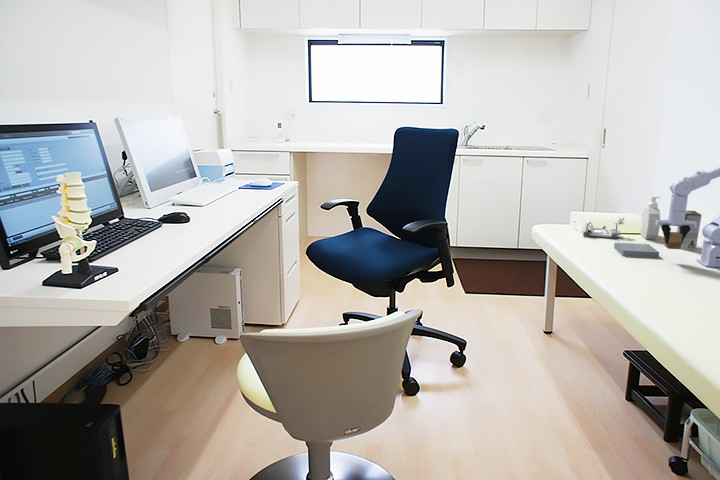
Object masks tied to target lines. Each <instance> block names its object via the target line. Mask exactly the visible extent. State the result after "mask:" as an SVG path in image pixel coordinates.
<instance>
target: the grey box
mask: <svg viewBox="0 0 720 480" xmlns="http://www.w3.org/2000/svg"><path fill="white" fill-rule="evenodd" d="M613 249H615V250H616V251H617V252H618V254H620V255H621V257H629V256H631V258H651V259H659V255H660V252H659V251H658V250H657V249H656V248H655V247H653V246H651V245H650V244H649V243H631V242H629V243H628V242H614V246H613Z"/></svg>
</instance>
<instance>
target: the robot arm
mask: <svg viewBox="0 0 720 480" xmlns="http://www.w3.org/2000/svg"><path fill="white" fill-rule="evenodd" d="M694 172H695V173H694V174H692V175H689V176H684V177H682V179H677V180H675V181H673V182H672V183H671V185H670V187H669V189H670V191H671V198H670V204H669V210H668V211H669V213H668V219H660V220H656V224H655V225H657V226H660V229H661V231H662V234H663V239H664V244H665V243H666V244H668V242H669V235H670V232H672V231H671V230H672V228H671V226H673V227H678V226H679V233H681V234H682V235H683V236H682V242H683V240H684V238H685V236H686V235H687V233H688V232H689V231H690V227H696V225H697V222H695V221H685V214H686V211H687V206H688V197H689V195H690V194H691V193H692V192H694V191H695V190H699V189H700V188H704V187H705V186H708V185H709V184H710V183H711V181H712V180H715V179H717V178H720V166H717V167H715V168H713V169H711V170H709V171H705V170H701V171H700V170H697V171H694ZM701 231H702V235H703V237H704V238H703V242H702V246H701V247H702V250H701V255H700V258H699V259H698V258H697V259H696V261H697V262H698V263H700V264H702V265H703V266H704V267H709V268H711V267H713V268H714V267H715V268H720V214H719V215H718V216H717V217H716V218H713V219H712V220H711V221H710V222H709V223H708V224H705V225H704V227H703V228H702V230H701ZM681 244H682V243H681Z"/></svg>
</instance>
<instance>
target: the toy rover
mask: <svg viewBox="0 0 720 480" xmlns="http://www.w3.org/2000/svg"><path fill="white" fill-rule="evenodd" d="M585 220H586V221H585V227H586V229H585V232H583V233H582V236H583V238H589V237H600V238H602V237H603V238H611V240H618V239H619V236H621V234H622V232H621V230H618V226H619V225H624V224H625V222H624V220H625V218H621V217H618V218H617V219H616V221H615V222H614V225H616V227H615V229H610V230H607V228H606V225H603V227H601V228H598V227H597V228H595V227H594V226H593V223H592V222H591V221H590V220H589V218H587V219H585ZM589 221H590V222H589ZM588 228H589V229H590V230H589V229H588Z"/></svg>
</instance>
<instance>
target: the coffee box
mask: <svg viewBox="0 0 720 480" xmlns="http://www.w3.org/2000/svg"><path fill="white" fill-rule="evenodd" d="M685 221H695V222H697V225H696V227H690V231H689V232H688V233H687V235H686V236H685V238H684V240H683V242H682V244H681V249H680V250H685V251H686V250H687V251H690V250H691V251H696V250H697V247H698V246H697V244H698V238H699V232H700V228H701V227H700V226H701V221H702V214H701V213H699V212H697V211H695V210H686V214H685ZM676 227H677V228H676V232H679V226H676Z"/></svg>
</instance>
